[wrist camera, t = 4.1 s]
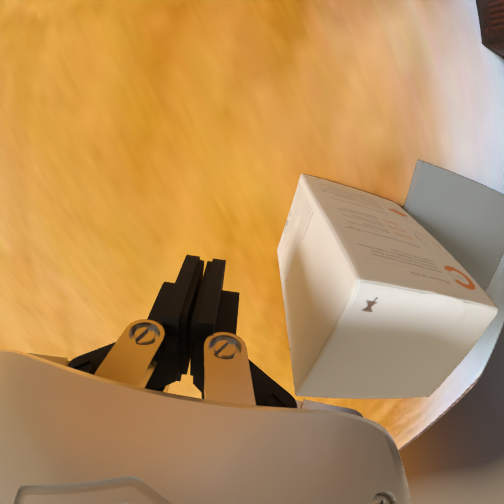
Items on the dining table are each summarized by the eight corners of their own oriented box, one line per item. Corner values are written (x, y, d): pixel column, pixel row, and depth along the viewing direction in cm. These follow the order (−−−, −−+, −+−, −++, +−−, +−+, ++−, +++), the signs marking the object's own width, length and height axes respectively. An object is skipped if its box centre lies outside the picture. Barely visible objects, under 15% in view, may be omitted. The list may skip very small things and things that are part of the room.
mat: (417, 159, 19) (422, 161, 18) (517, 201, 19) (522, 204, 19) (361, 317, 26) (363, 323, 25) (462, 322, 27) (465, 326, 26)
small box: (275, 250, 23) (289, 398, 11) (300, 171, 20) (357, 275, 8) (367, 271, 23) (430, 399, 12) (398, 202, 20) (503, 307, 9)
